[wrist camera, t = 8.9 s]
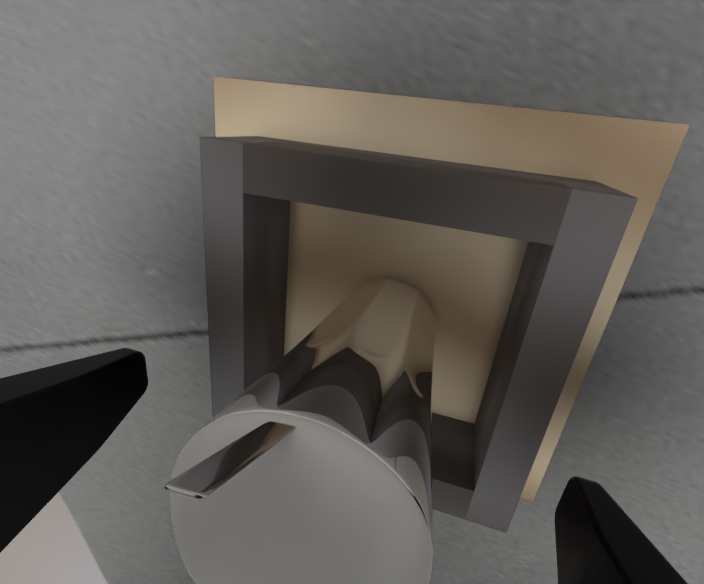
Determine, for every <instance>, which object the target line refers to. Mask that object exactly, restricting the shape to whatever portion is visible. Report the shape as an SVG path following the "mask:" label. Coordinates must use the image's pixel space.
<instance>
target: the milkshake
mask: <svg viewBox="0 0 704 584" xmlns="http://www.w3.org/2000/svg"><path fill="white" fill-rule="evenodd" d="M435 322H436V314H435V313H434V311H433V310H432V308H431V307H430V305H429V304H428V302H427V301H426V299H425V298H424V296H423V295H422V293H421V292H420V290H419V289H417V288H415V287H412V286H410V285H407V284H405V283H403V282H400V281H398V280H395V279H393V278H391V277H389V278H384V279H379V280H375V281H370V282H365V283H361V284H360V285H359V286H358V287H357V288H356V289H354V290H353V291H352V292H351V293H350V294H349V295H348V296H347V297H346V298H345V299H344V300H343V301H342V302H341V303H340V304H339V305H338V306H337V307H336V308H335V309H334V310H333V311H332V312H331V313H330V314H329V315H328V316H327V317H326V318H324V319H323V320H322V321H321V322H320V323H319V324H318V325H317V326H316V327H315V328H314V329H313V330H312V331H311V332H310V333H309V334H308V335H307V336H306V337H305V338H304V339H303V340H302V341H300V342H299V343H298V344H297V345H296V346H295V347H294V348H293V349H292V350H291V351H289V352H288V353H287V354H286V355H285V356H284V357H283V358H281V359H280V360H279V361H278V362H277V363H276V364H274V365H273V366H272V367H271V368H270V369H269V370H268V371H266V372H265V373H264V374H263V375H262V376H261V377H260V378H258V379H257V380H256V381H255V382H254V383H253V384H252V385H250V386H249V387H248V388H247V389H246V390H245V391H244V392H242V393H241V394H240V395H239V396H238V397H237V398H236V399H234V400H233V401H232V402H231V403H230V404H229V405H228V406H226V407H225V408H224V409H223V410H222V411H221V412H220V413H218V414H217V415H216V416H215V417H214V418H213V419H212V420H210V421H209V422H208V423H207V424H206V425H205V426H204V427H203V428H202V429H200V430H199V431H198V432H197V433H196V434H195V435H194V436H193V437H192V438H191V439H190V440H189V441H188V442H187V443H186V445H185V446H184V448H183V449H182V451H181V452H180V454H179V456H178V458H177V460H176V462H175V464H174V467H173V470H172V474H171V479H170V481H169V482H168V483H167V484H166V485H165V489H166V490H168V491H170V507H171V519H172V528H173V533H174V537H175V541H176V544H177V547H178V550H179V553H180V556H181V559H182V561H183V563H184V566H185V568H186V570H187V572H188V573H189V575H190V577H191V578H192V580H193V581H194V583H195V584H429V583H430V578H431V573H432V565H433V548H432V545H433V465H432V380H433V360H434V341H435Z"/></svg>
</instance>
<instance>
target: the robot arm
mask: <svg viewBox="0 0 704 584" xmlns="http://www.w3.org/2000/svg"><path fill="white" fill-rule="evenodd" d="M147 386H148V377H147V369H146V361H145V356H144V355H143V353H141V352H139V351H136V350H132V349H129V348H123V349H118V350H114V351H110V352H106V353H102V354H98V355H94V356H90V357H86V358H82V359H78V360H73V361H69V362H65V363H61V364H57V365H53V366H49V367H45V368H41V369H37V370H33V371H29V372H25V373H21V374H16V375H12V376H8V377H4V378H0V552H1V551H2V550H3V549H4V548H5V547H6V546H7V545H8V544H9V543H10V542H11V541H12V539H14V538H15V537H16V535H18V533H19V532H20V531H21V530H22V529H23V528H24V527H25V526H26V525H27V524H28V523H29V522H30V521H31V520H32V519H33V518H34V517H35V516H36V515H37V514H38V513H39V512H40V510H41V509H42V508H43V507H44V506H45V505H46V504H47V503H48V502H49V501H50V500H51V499H52V498H53V497H54V496H55V495H56V494H57V493H58V492H59V491H60V490H61V489H62V487H63V486H64V485H65V484H66V483H67V482H68V481H69V480H70V479H71V478H72V477H73V476H74V475H75V474H76V473H77V472H78V471H79V470H80V469H81V468H82V467H83V465H84V464H85V463H86V462H87V461H88V460H89V459H90V458H91V457H92V456H93V455H94V454H95V453H96V452H97V450H98V449H99V448H100V447H101V446H102V445H103V443H104V442H105V441H106V440H107V439H108V437H109V436H110V435H111V434H112V432H113V431H114V430H115V429H116V427H117V426H118V425H119V424H120V422H121V421H122V420H123V419H124V417H125V416H126V415H127V414H128V413H129V411H130V410H131V409H132V408H133V406H134V405H135V404H136V403H137V401H138V400H139V399H140V398H141V396H142V395H143V394H144V392H145V391H146V389H147ZM555 534H556V552H557V569H558V584H687V582H686V581H685V580H684V579H683V578H682V577H681V576H680V574H679V573H678V572H677V571H676V570H675V569H674V568H673V567H672V565H671V564H670V563H669V562H668V561H667V560H666V559H665V557H664V556H663V555H662V554H661V553H660V552H659V551H658V550H657V548H656V547H655V546H654V545H653V544H652V543H651V542H650V540H649V539H648V538H647V537H646V536H645V535H644V534H643V533H642V531H641V530H640V529H639V528H638V527H637V526H636V525H635V523H634V522H633V521H632V520H631V519H630V518H629V517H628V516H627V514H626V513H625V512H624V511H623V510H622V509H621V508H620V506H619V505H618V504H617V503H616V502H615V501H614V500H613V499H612V497H611V496H610V495H609V494H608V493H607V492H606V491H605V489H604V488H603V487H602V486H601V485H600V484H598V483H596V482H594V481H591V480H587V479H584V478H580V477H576V476H575V477H572V478H571V479H570V480H569V481H568V483H567V485H566V488H565V490H564V492H563V494H562V496H561V499H560V501H559V503H558V505H557V508H556V512H555Z"/></svg>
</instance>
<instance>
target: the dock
mask: <svg viewBox="0 0 704 584" xmlns="http://www.w3.org/2000/svg"><path fill="white" fill-rule="evenodd" d="M214 98H215V130H216V137H200V153H201V175H202V196H203V218H204V239H205V261H206V283H207V304H208V326H209V348H210V369H211V391H212V413H213V418H214V417H215V416H216V415H217V414H218V413H220V412H221V411H222V410H223V409H224V408H225V407H226V406H228V405H229V404H230V403H231V402H232V401H233V400H234V399H236V398H237V397H238V396H239V395H240V394H241V393H242V392H244V391H245V390H246V389H247V388H248V387H249V386H250V385H252V384H253V383H254V382H255V381H256V380H257V379H258V378H260V377H261V376H262V375H263V374H264V373H265V372H266V371H268V370H269V369H270V368H271V367H272V366H273V365H274V364H276V363H277V362H278V361H279V360H280V359H281V358H283V357H284V356H285V355H286V354H287V353H288V352H289V351H291V350H292V349H293V348H294V347H295V346H296V345H297V344H298V343H299V342H300V341H302V340H303V339H304V338H305V337H306V336H307V335H308V334H309V333H310V332H311V331H312V330H313V329H314V328H315V327H316V326H317V325H318V324H319V323H320V322H321V321H322V320H323V319H324V318H326V317H327V316H328V315H329V314H330V313H331V312H332V311H333V310H334V309H335V308H336V307H337V306H338V305H339V304H340V303H341V302H342V301H343V300H344V299H345V298H346V297H347V296H348V295H349V294H350V293H351V292H352V291H353V290H354V289H356V288H357V287H358V286H359V285H360V284H361V283H365V282H370V281H375V280H379V279H384V278H389V277H391V278H393V279H395V280H398V281H400V282H403V283H405V284H407V285H410V286H412V287H415V288H417V289H419V290H420V292H421V293H422V295H423V296H424V298H425V299H426V301H427V302H428V304H429V305H430V307H431V308H432V310H433V311H434V313H435V314H436V322H435V341H434V360H433V380H432V465H433V509H435V510H438V511H441V512H444V513H447V514H450V515H453V516H456V517H459V518H462V519H466V520H469V521H472V522H475V523H478V524H481V525H484V526H487V527H490V528H493V529H496V530H499V531H502V532H507V529H508V527H509V524H510V522H511V519H512V517H513V514H514V512H515V509H516V507H517V504H518V501H519V499H520V498H523V499H526V500H529V501H532V502H533V500H534V498H535V496H536V493H537V491H538V488H539V486H540V484H541V481H542V479H543V476H544V474H545V472H546V469H547V467H548V464H549V462H550V460H551V457H552V455H553V452H554V450H555V448H556V445H557V443H558V440H559V438H560V435H561V433H562V431H563V428H564V426H565V423H566V421H567V419H568V416H569V414H570V411H571V409H572V407H573V404H574V402H575V399H576V397H577V395H578V392H579V390H580V387H581V385H582V383H583V380H584V378H585V375H586V373H587V371H588V368H589V366H590V363H591V361H592V359H593V356H594V354H595V351H596V349H597V347H598V344H599V342H600V339H601V337H602V335H603V332H604V330H605V327H606V325H607V323H608V320H609V318H610V315H611V313H612V310H613V308H614V306H615V303H616V301H617V298H618V296H619V294H620V291H621V289H622V286H623V284H624V282H625V279H626V277H627V274H628V272H629V270H630V267H631V265H632V262H633V260H634V258H635V255H636V253H637V250H638V248H639V246H640V243H641V241H642V238H643V236H644V234H645V231H646V229H647V226H648V224H649V222H650V219H651V217H652V214H653V212H654V210H655V207H656V205H657V202H658V200H659V198H660V195H661V193H662V190H663V188H664V185H665V183H666V181H667V178H668V176H669V173H670V171H671V169H672V166H673V164H674V161H675V159H676V157H677V154H678V152H679V149H680V147H681V145H682V142H683V140H684V137H685V135H686V133H687V130H688V128H689V125H687V124H677V123H667V122H657V121H648V120H638V119H628V118H618V117H608V116H598V115H588V114H578V113H568V112H558V111H548V110H538V109H529V108H519V107H509V106H499V105H489V104H479V103H469V102H459V101H449V100H439V99H429V98H419V97H410V96H400V95H390V94H380V93H370V92H360V91H350V90H340V89H330V88H320V87H310V86H300V85H291V84H281V83H271V82H261V81H251V80H241V79H231V78H221V77H214Z"/></svg>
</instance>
